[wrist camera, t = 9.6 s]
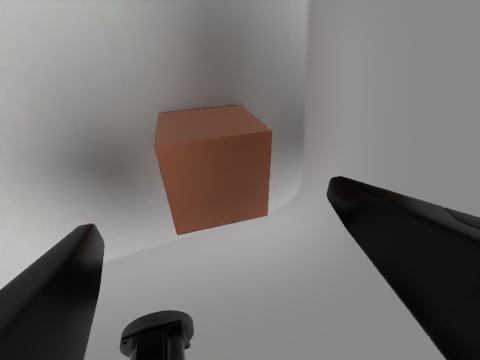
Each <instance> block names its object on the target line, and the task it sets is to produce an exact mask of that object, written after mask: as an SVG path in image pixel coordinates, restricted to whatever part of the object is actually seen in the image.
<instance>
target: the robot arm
mask: <svg viewBox="0 0 480 360" xmlns="http://www.w3.org/2000/svg"><path fill="white" fill-rule="evenodd" d="M327 198H328V200H329V202H330V203H331V205H332V207H333V208H334V210H335V211H336V213H337V215H338V216H339V218H340V220H341V221H342V223H343V224H344V226H345V227H346V229H347V230H348V232H349V233H350V234H351V236H352V237H353V238H354V240H355V241H356V242H357V243H358V245H359V246H360V247H361V249H362V250H363V251H364V253H365V254H366V255H367V257H368V258H369V259H370V260H371V262H372V263H373V264H374V266H375V267H376V268H377V269H378V271H379V272H380V274H381V275H382V276H383V277H384V279H385V280H386V281H387V283H388V284H389V285H390V286H391V288H392V289H393V290H394V292H395V293H396V294H397V296H398V297H399V298H400V300H401V301H402V302H403V304H404V305H405V306H406V307H407V309H408V310H409V311H410V313H411V314H412V315H413V317H414V318H415V319H416V321H417V322H418V323H419V325H420V326H421V327H422V328H423V330H424V331H425V332H426V334H427V335H428V336H429V337H430V339H431V340H432V342H433V343H434V344H435V346H436V347H437V348H438V350H439V351H440V352H441V354H442V355H443V356H444V358H445V359H446V360H480V217H476V216H473V215H469V214H466V213H462V212H459V211H455V210H452V209H449V208H443V207H442V206H439V205H435V204H432V203H428V202H425V201H422V200H419V199H415V198H412V197H408V196H405V195H402V194H399V193H395V192H392V191H388V190H385V189H382V188H378V187H375V186H372V185H369V184H365V183H362V182H359V181H355V180H352V179H349V178H345V177H342V176H338V177H333V178H331V180H330V182H329V186H328V190H327ZM103 256H104V241H103V239H102V237H101V235H100V233H99V231H98V229H97V227H96V226H95V225H94V224H86V225H81V226H78V227H77V228H76V229H74V230H73V231H72V232H71V233H70V234H68V235H67V236H66V237H65V238H63V239H62V240H61V241H60V242H58V243H57V244H56V245H55V246H54V247H52V248H51V249H50V250H49V251H47V252H46V253H45V254H44V255H43V256H41V257H40V258H39V259H38V260H36V261H35V262H34V263H33V264H31V265H30V266H29V267H28V268H27V269H25V270H24V271H23V272H22V273H20V274H19V275H18V276H17V277H16V278H14V279H13V280H12V281H11V282H9V283H8V284H7V285H6V286H4V287H3V288H2V289H1V290H0V360H84V356H85V351H86V347H87V343H88V339H89V334H90V330H91V326H92V322H93V317H94V313H95V308H96V304H97V300H98V295H99V291H100V283H101V274H102V265H103ZM120 344H121V345H122V347H123V348H124V350H125V351H126V352H127V354H128V355H129V356H130V360H185V349H188V348H190V340H189V337H188V334H187V331H186V328H185V325H184V322H183V320H176V321H173V322H170V323H166V324H163V325H160V326H156V327H153V328H150V329H146V330H143V331H140V332H136V333H133V334H130V335H127V336H124V337H122V338H121V341H120Z"/></svg>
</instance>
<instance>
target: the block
mask: <svg viewBox="0 0 480 360" xmlns="http://www.w3.org/2000/svg"><path fill="white" fill-rule="evenodd" d="M271 144H272V130H271V129H270V128H268V127H267V126H266V125H265V124H263V123H262V122H261V121H260V120H259V119H257V118H256V117H255V116H254V115H252V114H251V113H250V112H249V111H247V110H246V109H245V108H244V107H243V106H241V105H237V106H226V107H216V108H205V109H195V110H184V111H174V112H163V113H159V114H158V121H157V129H156V136H155V144H154V148H155V152H156V156H157V159H158V163H159V167H160V171H161V175H162V179H163V183H164V187H165V191H166V194H167V198H168V202H169V206H170V210H171V214H172V218H173V222H174V225H175V229H176V233H177V235H181V234H186V233H190V232H195V231H199V230H204V229H209V228H213V227H218V226H222V225H227V224H231V223H236V222H241V221H245V220H250V219H254V218H258V217H263V216H267V214H268V196H269V179H270V161H271Z"/></svg>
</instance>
